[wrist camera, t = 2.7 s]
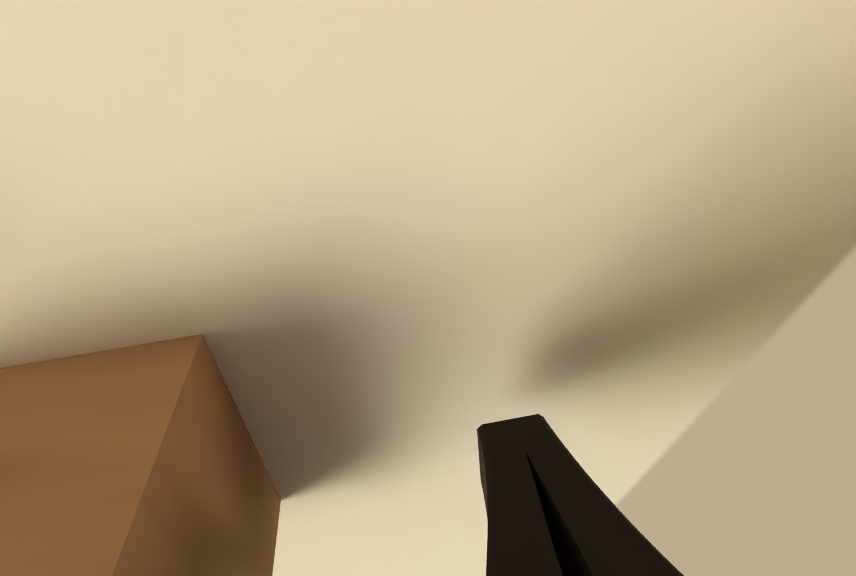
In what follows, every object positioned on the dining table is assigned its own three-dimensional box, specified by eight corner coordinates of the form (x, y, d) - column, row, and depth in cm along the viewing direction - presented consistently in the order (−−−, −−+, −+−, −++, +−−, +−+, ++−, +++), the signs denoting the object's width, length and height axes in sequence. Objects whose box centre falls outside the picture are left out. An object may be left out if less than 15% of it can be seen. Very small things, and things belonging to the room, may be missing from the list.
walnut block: (280, 497, 14) (254, 728, 10) (96, 532, 13) (-12, 785, 9) (203, 331, 10) (110, 578, 6) (-46, 373, 10) (-315, 661, 6)
